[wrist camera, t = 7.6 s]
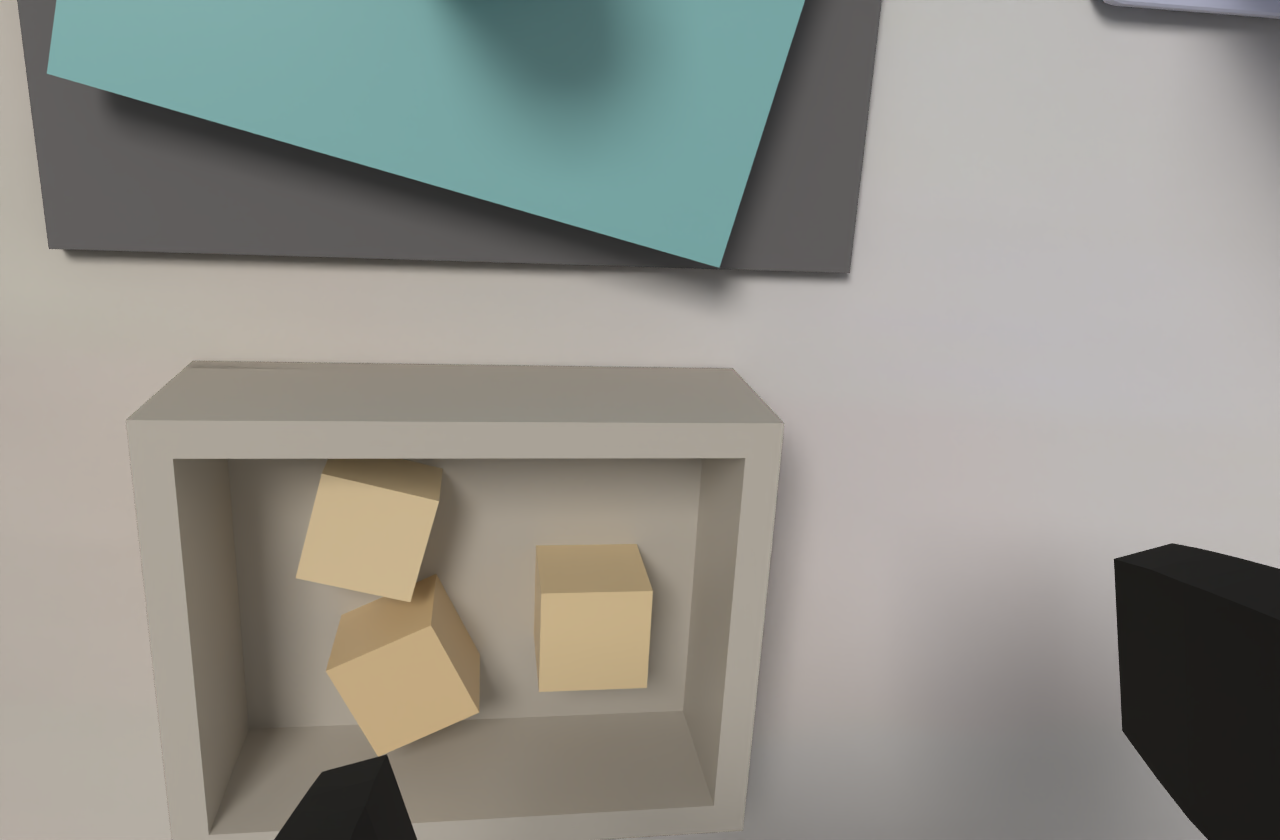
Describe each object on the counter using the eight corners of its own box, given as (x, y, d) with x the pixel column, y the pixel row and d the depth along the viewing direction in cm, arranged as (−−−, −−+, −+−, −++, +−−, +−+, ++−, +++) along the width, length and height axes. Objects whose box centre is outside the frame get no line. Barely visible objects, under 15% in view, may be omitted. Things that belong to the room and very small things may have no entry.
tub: (733, 368, 19) (784, 423, 16) (703, 719, 22) (742, 831, 18) (192, 361, 18) (125, 420, 14) (225, 740, 20) (174, 866, 17)
